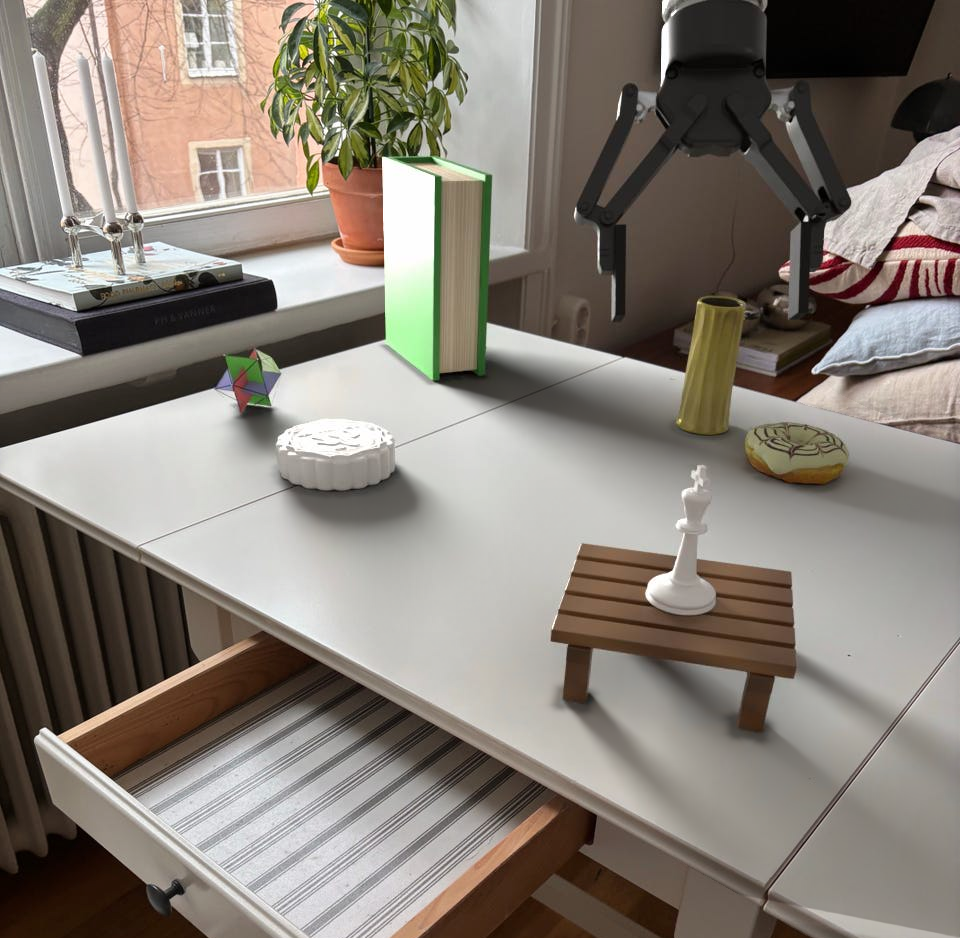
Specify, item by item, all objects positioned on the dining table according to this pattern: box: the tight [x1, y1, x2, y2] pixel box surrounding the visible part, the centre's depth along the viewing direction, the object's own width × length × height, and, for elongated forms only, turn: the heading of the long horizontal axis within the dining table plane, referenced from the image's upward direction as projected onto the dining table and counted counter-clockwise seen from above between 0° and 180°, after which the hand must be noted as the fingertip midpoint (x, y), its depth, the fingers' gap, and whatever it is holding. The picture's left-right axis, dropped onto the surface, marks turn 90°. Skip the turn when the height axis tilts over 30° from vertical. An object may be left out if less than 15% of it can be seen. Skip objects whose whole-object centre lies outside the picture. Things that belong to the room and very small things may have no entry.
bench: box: [550, 542, 798, 733], centre depth 72 cm, size 16×14×6 cm
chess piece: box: [646, 464, 716, 615], centre depth 68 cm, size 5×5×10 cm
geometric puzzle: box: [213, 347, 283, 415], centre depth 115 cm, size 7×7×8 cm
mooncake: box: [275, 418, 396, 492], centre depth 101 cm, size 12×12×4 cm
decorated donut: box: [744, 421, 850, 485], centre depth 105 cm, size 10×11×4 cm
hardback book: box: [382, 155, 493, 382], centre depth 129 cm, size 18×7×24 cm, turn 24°
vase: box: [675, 295, 747, 436], centre depth 112 cm, size 6×6×14 cm
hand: (707, 318), depth 75 cm, fingers open, 13 cm apart
